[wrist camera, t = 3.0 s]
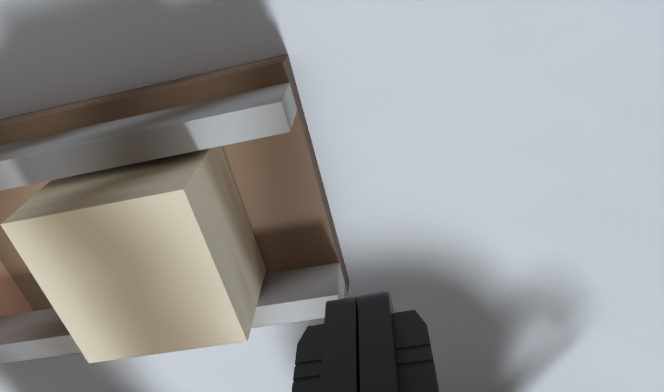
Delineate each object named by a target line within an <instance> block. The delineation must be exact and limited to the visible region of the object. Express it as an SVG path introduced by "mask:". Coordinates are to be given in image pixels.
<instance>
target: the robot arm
mask: <svg viewBox="0 0 664 392" xmlns="http://www.w3.org/2000/svg"><path fill="white" fill-rule="evenodd" d="M295 365H296V367H295V369H294V377H293V380H294V383H293V385H292V392H439V387H438V382H437V377H436V371H435V366H434V361H433V356H432V350H431V345H430V340H429V335H428V329H427V325H426V323H425V322H424V321H423V320H422V319H421V317H420V316H419V315H418V314H417V312H416V311H415V310H411V311H405V312H398V313H394V310H393V306H392V301H391V297H390V293H389V291H387V292H380V293H374V294H368V295H362V296H359V297H358V298H357V297H350V298H344V299H337V300H331V301H327V302H326V307H325V323H324V324H321V325H314V326H308V327H307V329H306V331H305V332H304V334H303V336H302V337H301V339H300V341H299V342H298V344H297V352H296V360H295Z"/></svg>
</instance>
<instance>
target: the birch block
mask: <svg viewBox="0 0 664 392" xmlns="http://www.w3.org/2000/svg"><path fill="white" fill-rule="evenodd" d="M0 225H1V226H2V228H3V229H4V231H5V233H6V234H7V236H8V237H9V239H10V240H11V242H12V244H13V245H14V247H15V248H16V250H17V251H18V253H19V255H20V256H21V258H22V259H23V261H24V262H25V264H26V266H27V267H28V269H29V270H30V272H31V273H32V275H33V277H34V278H35V280H36V281H37V283H38V284H39V286H40V288H41V289H42V291H43V292H44V294H45V295H46V297H47V299H48V300H49V302H50V303H51V305H52V306H53V308H54V310H55V311H56V313H57V314H58V316H59V317H60V319H61V321H62V322H63V324H64V325H65V327H66V328H67V330H68V332H69V333H70V335H71V336H72V338H73V339H74V341H75V343H76V344H77V346H78V347H79V349H80V350H81V352H82V354H83V355H84V357H85V358H86V360H87V361H88V363H95V362H102V361H109V360H117V359H124V358H131V357H138V356H145V355H153V354H160V353H167V352H174V351H181V350H189V349H196V348H203V347H210V346H217V345H225V344H232V343H239V342H246V341H247V340H248V337H249V333H250V329H251V325H252V322H253V318H254V314H255V310H256V306H257V303H258V299H259V295H260V291H261V288H262V284H263V280H264V276H265V272H266V267H265V265H264V262H263V259H262V256H261V254H260V251H259V248H258V245H257V243H256V240H255V237H254V234H253V232H252V229H251V226H250V223H249V221H248V218H247V215H246V212H245V210H244V207H243V204H242V201H241V199H240V196H239V193H238V190H237V188H236V185H235V182H234V179H233V176H232V174H231V171H230V168H229V165H228V163H227V160H226V157H225V154H224V152H223V149H222V146H218V147H213V148H208V149H203V150H198V151H194V152H189V153H184V154H179V155H174V156H169V157H164V158H159V159H154V160H149V161H144V162H139V163H134V164H129V165H124V166H119V167H114V168H109V169H105V170H100V171H95V172H90V173H85V174H80V175H75V176H70V177H65V178H60V179H55V180H51V181H50V182H49V183H48V184H46V185H45V186H44V187H43V188H42V189H41V190H40V191H38V192H37V193H36V194H35V195H34V196H33V197H31V198H30V199H29V200H28V201H27V202H26V203H24V204H23V205H22V206H21V207H20V208H19V209H18V210H16V211H15V212H14V213H13V214H12V215H11V216H9V217H8V218H7V219H6V220H5V221H4V222H2V223H1V224H0Z"/></svg>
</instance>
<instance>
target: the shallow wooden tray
mask: <svg viewBox="0 0 664 392" xmlns="http://www.w3.org/2000/svg"><path fill="white" fill-rule="evenodd" d="M218 146H222V149H223V152H224V154H225V157H226V160H227V163H228V165H229V168H230V171H231V174H232V176H233V179H234V182H235V185H236V188H237V190H238V193H239V196H240V199H241V201H242V204H243V207H244V210H245V212H246V215H247V218H248V221H249V223H250V226H251V229H252V232H253V234H254V237H255V240H256V243H257V245H258V248H259V251H260V254H261V256H262V259H263V262H264V265H265V267H266V272H265V276H264V280H263V284H262V288H261V291H260V295H259V299H258V303H257V306H256V310H255V314H254V318H253V322H252V325H251V328H257V327H264V326H271V325H278V324H285V323H292V322H299V321H306V320H313V319H320V318H325V307H326V302H327V301H331V300H337V299H344V295H348V289H349V279H348V275H347V271H346V268H345V264H344V260H343V257H342V253H341V249H340V245H339V242H338V238H337V234H336V231H335V227H334V223H333V220H332V216H331V212H330V209H329V205H328V201H327V197H326V194H325V190H324V186H323V183H322V179H321V175H320V172H319V168H318V164H317V161H316V157H315V153H314V149H313V146H312V142H311V138H310V135H309V131H308V127H307V124H306V120H305V116H304V113H303V109H302V105H301V101H300V98H299V94H298V90H297V87H296V83H295V79H294V76H293V72H292V68H291V65H290V61H289V57H288V55H284V56H279V57H275V58H270V59H266V60H261V61H257V62H253V63H248V64H244V65H239V66H235V67H231V68H226V69H222V70H217V71H213V72H209V73H204V74H200V75H195V76H191V77H186V78H182V79H178V80H173V81H169V82H164V83H160V84H156V85H151V86H147V87H142V88H138V89H133V90H129V91H125V92H120V93H116V94H111V95H107V96H103V97H98V98H94V99H89V100H85V101H80V102H76V103H72V104H67V105H63V106H58V107H54V108H50V109H45V110H41V111H36V112H32V113H28V114H23V115H19V116H14V117H10V118H5V119H1V120H0V224H1V223H2V222H4V221H5V220H6V219H7V218H8V217H9V216H11V215H12V214H13V213H14V212H15V211H16V210H18V209H19V208H20V207H21V206H22V205H23V204H24V203H26V202H27V201H28V200H29V199H30V198H31V197H33V196H34V195H35V194H36V193H37V192H38V191H40V190H41V189H42V188H43V187H44V186H45V185H46V184H48V183H49V182H50V181H51V180H55V179H60V178H65V177H70V176H75V175H80V174H85V173H90V172H95V171H100V170H105V169H109V168H114V167H119V166H124V165H129V164H134V163H139V162H144V161H149V160H154V159H159V158H164V157H169V156H174V155H179V154H184V153H189V152H194V151H198V150H203V149H208V148H213V147H218ZM74 353H81V350H80V349H79V347H78V346H77V344H76V343H75V341H74V339H73V338H72V336H71V335H70V333H69V332H68V330H67V328H66V327H65V325H64V324H63V322H62V321H61V319H60V317H59V316H58V314H57V313H56V311H55V310H54V308H53V306H52V305H51V303H50V302H49V300H48V299H47V297H46V295H45V294H44V292H43V291H42V289H41V288H40V286H39V284H38V283H37V281H36V280H35V278H34V277H33V275H32V273H31V272H30V270H29V269H28V267H27V266H26V264H25V262H24V261H23V259H22V258H21V256H20V255H19V253H18V251H17V250H16V248H15V247H14V245H13V244H12V242H11V240H10V239H9V237H8V236H7V234H6V233H5V231H4V229H3V228H2V226H1V225H0V364H4V363H11V362H18V361H25V360H32V359H39V358H46V357H53V356H60V355H67V354H74Z"/></svg>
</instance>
